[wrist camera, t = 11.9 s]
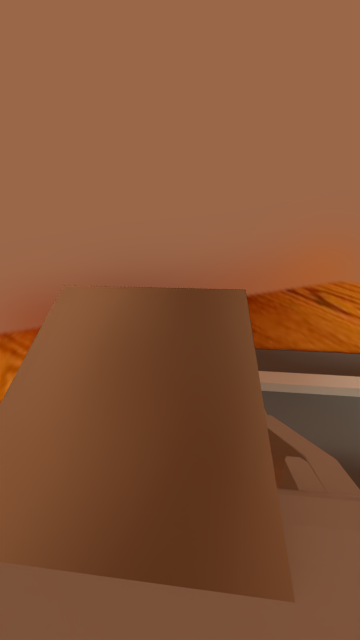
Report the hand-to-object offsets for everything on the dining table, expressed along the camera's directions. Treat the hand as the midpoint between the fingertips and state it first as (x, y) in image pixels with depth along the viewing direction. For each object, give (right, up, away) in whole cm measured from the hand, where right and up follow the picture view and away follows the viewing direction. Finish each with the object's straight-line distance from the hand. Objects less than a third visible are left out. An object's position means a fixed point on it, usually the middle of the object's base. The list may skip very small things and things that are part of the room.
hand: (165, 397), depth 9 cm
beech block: (0, -4, +5) cm, 6 cm away
